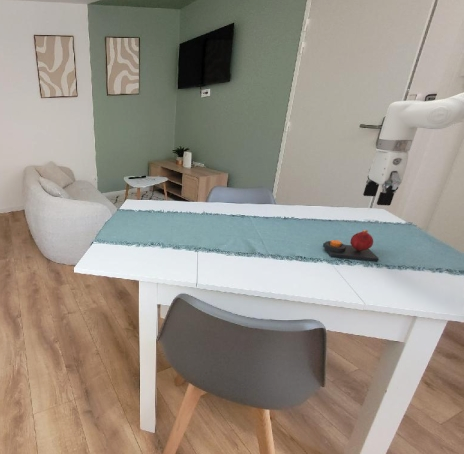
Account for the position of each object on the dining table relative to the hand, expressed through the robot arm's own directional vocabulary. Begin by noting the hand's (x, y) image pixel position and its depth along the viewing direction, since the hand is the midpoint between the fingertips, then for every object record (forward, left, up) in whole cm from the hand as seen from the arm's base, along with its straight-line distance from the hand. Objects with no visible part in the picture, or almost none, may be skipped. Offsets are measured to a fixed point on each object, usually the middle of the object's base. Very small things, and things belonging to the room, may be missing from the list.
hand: (375, 200), depth 93 cm
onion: (0, 0, -19) cm, 19 cm away
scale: (+2, +1, -20) cm, 20 cm away
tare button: (+7, +3, -17) cm, 19 cm away
